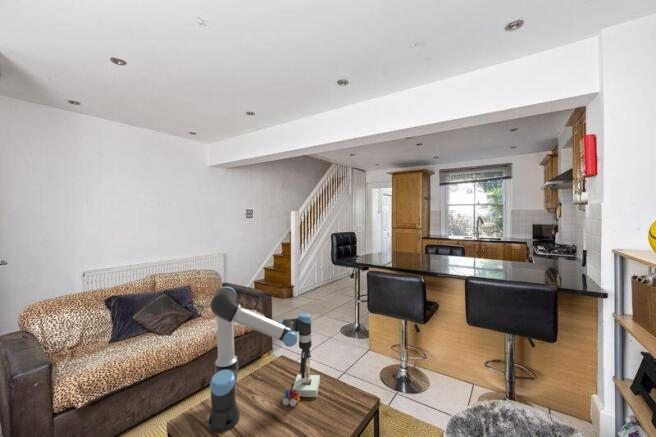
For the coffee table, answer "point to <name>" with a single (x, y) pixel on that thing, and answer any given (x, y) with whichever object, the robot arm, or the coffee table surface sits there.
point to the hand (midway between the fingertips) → (305, 375)
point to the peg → (307, 374)
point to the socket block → (307, 386)
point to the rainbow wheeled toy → (291, 397)
